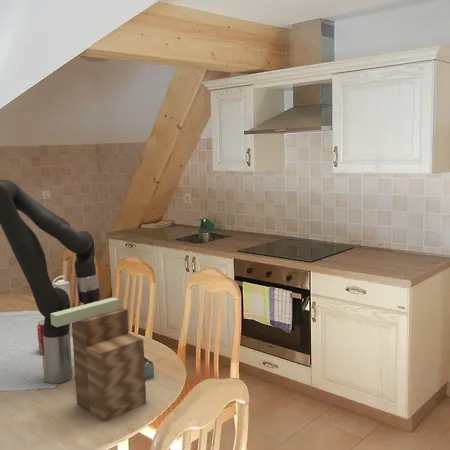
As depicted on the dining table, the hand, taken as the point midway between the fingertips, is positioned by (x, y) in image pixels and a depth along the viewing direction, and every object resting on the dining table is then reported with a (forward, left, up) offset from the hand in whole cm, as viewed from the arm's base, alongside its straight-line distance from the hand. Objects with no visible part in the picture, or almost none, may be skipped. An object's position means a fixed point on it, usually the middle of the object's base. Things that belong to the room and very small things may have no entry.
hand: (94, 330), depth 189 cm
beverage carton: (+12, +4, -18) cm, 22 cm away
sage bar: (+3, -21, +12) cm, 24 cm away
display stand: (+9, -20, -18) cm, 28 cm away
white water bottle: (-24, +40, -18) cm, 50 cm away
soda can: (-26, +25, -18) cm, 40 cm away
